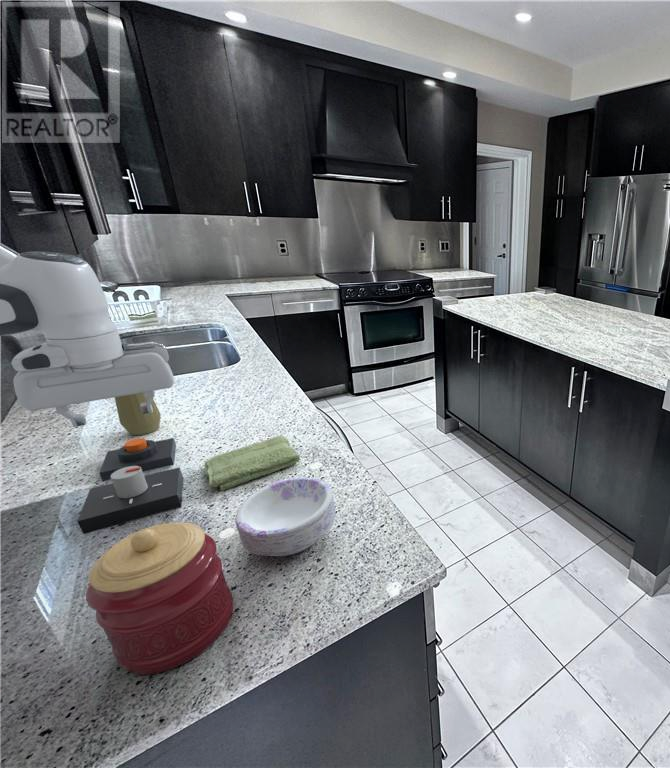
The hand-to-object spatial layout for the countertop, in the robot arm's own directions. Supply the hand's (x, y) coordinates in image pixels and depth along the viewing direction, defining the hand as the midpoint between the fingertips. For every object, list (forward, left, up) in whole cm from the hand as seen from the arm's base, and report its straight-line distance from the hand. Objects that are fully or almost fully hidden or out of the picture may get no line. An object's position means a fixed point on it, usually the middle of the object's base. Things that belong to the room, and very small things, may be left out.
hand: (115, 418), depth 76 cm
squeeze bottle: (-3, +33, -18) cm, 37 cm away
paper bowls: (+23, -29, -18) cm, 41 cm away
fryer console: (-1, -3, -18) cm, 18 cm away
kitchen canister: (+7, -40, -18) cm, 45 cm away
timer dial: (-1, -3, -15) cm, 15 cm away
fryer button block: (-2, +15, -18) cm, 23 cm away
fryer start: (-2, +15, -14) cm, 21 cm away
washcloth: (+19, 0, -18) cm, 26 cm away
